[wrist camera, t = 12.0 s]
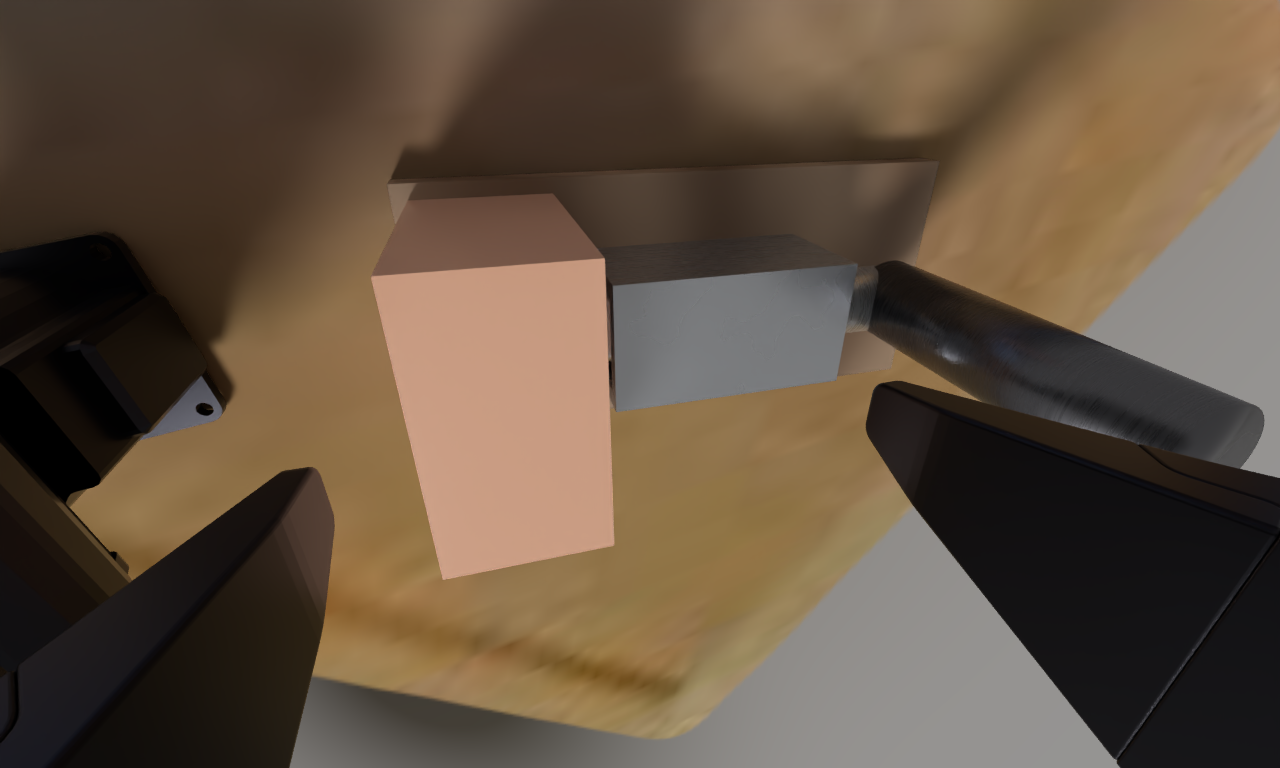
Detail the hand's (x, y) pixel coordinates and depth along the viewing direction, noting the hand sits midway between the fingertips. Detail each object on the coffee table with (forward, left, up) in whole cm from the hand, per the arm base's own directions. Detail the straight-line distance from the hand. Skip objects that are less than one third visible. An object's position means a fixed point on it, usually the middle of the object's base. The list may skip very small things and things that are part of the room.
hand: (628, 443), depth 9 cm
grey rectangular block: (+5, -3, -12) cm, 13 cm away
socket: (-2, -2, -12) cm, 12 cm away
